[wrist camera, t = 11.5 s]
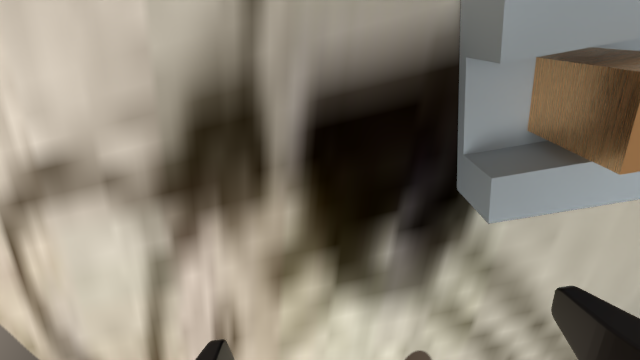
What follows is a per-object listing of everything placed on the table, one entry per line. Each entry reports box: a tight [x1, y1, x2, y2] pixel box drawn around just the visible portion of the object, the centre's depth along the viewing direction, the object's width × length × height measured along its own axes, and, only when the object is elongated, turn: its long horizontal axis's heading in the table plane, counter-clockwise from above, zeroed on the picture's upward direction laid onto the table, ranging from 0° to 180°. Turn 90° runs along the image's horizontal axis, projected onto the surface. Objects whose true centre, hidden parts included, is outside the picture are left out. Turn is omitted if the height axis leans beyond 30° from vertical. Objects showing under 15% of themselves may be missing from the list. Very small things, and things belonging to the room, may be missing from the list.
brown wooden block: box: [527, 47, 640, 175], centre depth 15 cm, size 4×3×6 cm
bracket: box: [457, 0, 640, 224], centre depth 16 cm, size 11×10×4 cm
